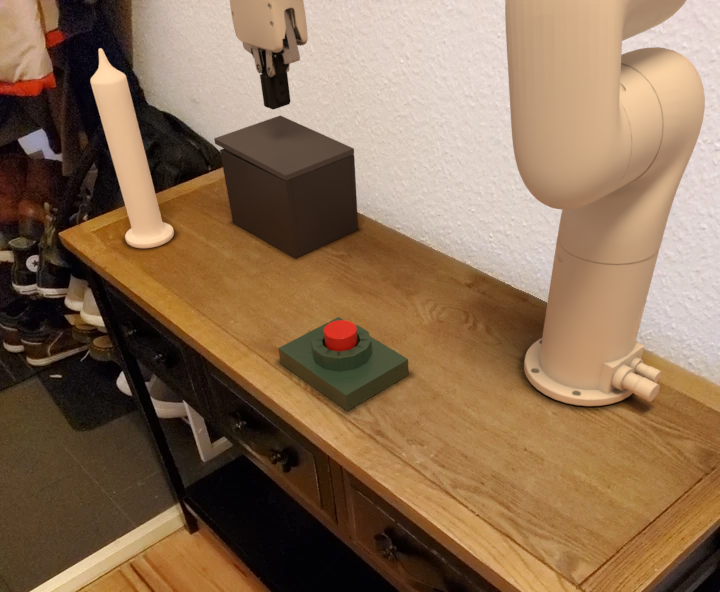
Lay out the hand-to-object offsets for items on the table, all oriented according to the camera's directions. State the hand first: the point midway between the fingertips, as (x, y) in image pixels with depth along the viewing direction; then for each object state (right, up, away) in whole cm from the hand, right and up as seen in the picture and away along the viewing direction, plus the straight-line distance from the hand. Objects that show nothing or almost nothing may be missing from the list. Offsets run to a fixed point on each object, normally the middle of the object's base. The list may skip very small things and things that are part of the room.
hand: (277, 105), depth 98 cm
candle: (-20, -14, +11) cm, 27 cm away
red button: (+9, -35, -16) cm, 39 cm away
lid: (0, -4, +4) cm, 6 cm away
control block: (+9, -37, -14) cm, 41 cm away
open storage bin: (+1, -12, +11) cm, 17 cm away
